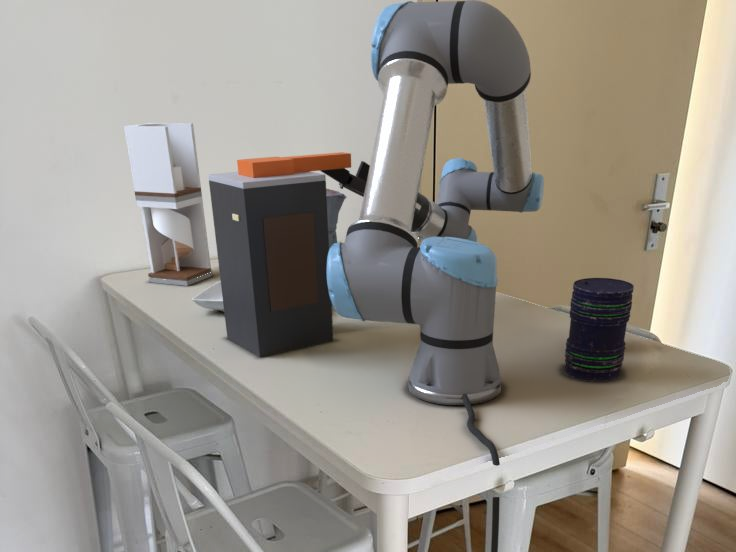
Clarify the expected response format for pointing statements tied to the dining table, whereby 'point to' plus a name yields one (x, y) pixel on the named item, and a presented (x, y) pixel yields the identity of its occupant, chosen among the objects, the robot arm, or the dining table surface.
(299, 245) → the tall dark grey cabinet
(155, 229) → the white tall stand
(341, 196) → the moka pot
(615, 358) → the dark blue cylinder
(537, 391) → the dining table surface
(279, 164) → the key
